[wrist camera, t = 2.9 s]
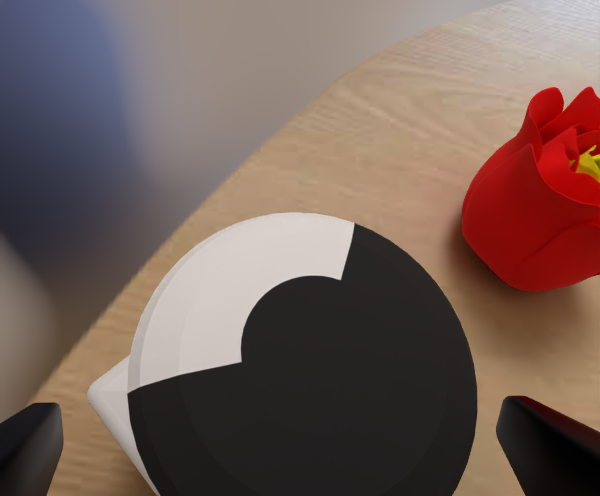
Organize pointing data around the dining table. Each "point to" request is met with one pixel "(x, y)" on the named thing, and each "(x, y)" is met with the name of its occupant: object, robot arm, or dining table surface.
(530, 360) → the dining table surface
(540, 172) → the flower
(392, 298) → the medicine bottle
